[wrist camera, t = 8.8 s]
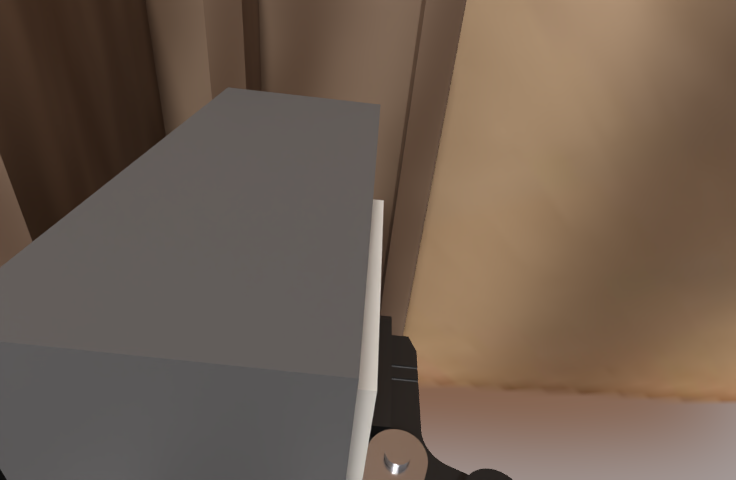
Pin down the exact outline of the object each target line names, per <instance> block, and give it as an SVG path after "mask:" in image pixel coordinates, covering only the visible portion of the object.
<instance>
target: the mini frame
mask: <svg viewBox="0 0 736 480" xmlns="http://www.w3.org/2000/svg"><path fill="white" fill-rule="evenodd" d="M379 118H380V104H371V103H362V102H354V101H345V100H336V99H327V98H318V97H309V96H300V95H291V94H282V93H273V92H264V91H255V90H246V89H238V88H229V87H228V88H226V89H225V90H224V91H223V92H221V93H220V94H219V95H218V96H216V97H215V98H214V99H213V100H211V101H210V102H209V103H207V104H206V105H205V106H204V107H202V108H201V109H200V110H199V111H197V112H196V113H195V114H194V115H192V116H191V117H190V118H188V119H187V120H186V121H185V122H183V123H182V124H181V125H180V126H178V127H177V128H176V129H175V130H173V131H172V132H171V133H170V134H168V135H167V136H166V137H164V138H163V139H162V140H161V141H159V142H158V143H157V144H156V145H154V146H153V147H152V148H151V149H149V150H148V151H147V152H145V153H144V154H143V155H142V156H140V157H139V158H138V159H137V160H135V161H134V162H133V163H132V164H130V165H129V166H128V167H127V168H125V169H124V170H123V171H121V172H120V173H119V174H118V175H116V176H115V177H114V178H113V179H111V180H110V181H109V182H108V183H106V184H105V185H104V186H102V187H101V188H100V189H99V190H97V191H96V192H95V193H94V194H92V195H91V196H90V197H89V198H87V199H86V200H85V201H84V202H82V203H81V204H80V205H78V206H77V207H76V208H75V209H73V210H72V211H71V212H70V213H68V214H67V215H66V216H65V217H63V218H62V219H61V220H59V221H58V222H57V223H56V224H54V225H53V226H52V227H51V228H49V229H48V230H47V231H46V232H44V233H43V234H42V235H40V236H39V237H38V238H37V239H35V240H34V241H33V242H32V243H30V244H29V245H28V246H27V247H25V248H24V249H23V250H22V251H20V252H19V253H18V254H16V255H15V256H14V257H13V258H11V259H10V260H9V261H8V262H6V263H5V264H4V265H3V266H1V267H0V469H1V471H2V473H3V474H4V476H5V478H6V479H7V480H362V479H363V473H364V467H365V461H366V455H367V449H368V443H369V437H370V431H371V425H372V419H373V413H374V407H375V401H376V395H377V379H378V351H379V322H380V293H381V264H382V236H383V207H384V200H374V199H373V194H374V181H375V168H376V156H377V143H378V130H379Z"/></svg>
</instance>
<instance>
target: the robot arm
mask: <svg viewBox="0 0 736 480" xmlns="http://www.w3.org/2000/svg"><path fill="white" fill-rule="evenodd" d="M420 423H421V422H420V406H419V389H418V372H417V355H416V350H415V348H414V346H413V345H412V343H411V341H410V339H409V337H405V336H396V335H392V317H391V316H382V315H380V322H379V351H378V379H377V395H376V401H375V407H374V413H373V419H372V425H371V431H370V437H369V443H368V449H367V455H366V461H365V467H364V473H363V479H362V480H512V479H511V478H510V477H508V476H507V475H505V474H503V473H502V472H499V471H496V470H492V469H479V470H477V471H475V472H472V473H471V474H470V475H467V474H465V473H463V472H460V471H459V470H456V469H454V468H452V467H449V466H447V465H445V464H444V463H442V462H440V461H439V460H438V459H436V458H435V457H434V456H433V455H432V454H431V453H430V451H429V450H428V449H427V447H426V446H425V443H424V441H423V438H422V435H421V424H420ZM0 480H7V479H6V478H5V476H4V474H3V473H2V471H1V469H0Z"/></svg>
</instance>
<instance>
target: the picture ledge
mask: <svg viewBox="0 0 736 480" xmlns="http://www.w3.org/2000/svg"><path fill="white" fill-rule="evenodd" d="M465 5H466V0H0V267H1V266H3V265H4V264H5V263H6V262H8V261H9V260H10V259H11V258H13V257H14V256H15V255H16V254H18V253H19V252H20V251H22V250H23V249H24V248H25V247H27V246H28V245H29V244H30V243H32V242H33V241H34V240H35V239H37V238H38V237H39V236H40V235H42V234H43V233H44V232H46V231H47V230H48V229H49V228H51V227H52V226H53V225H54V224H56V223H57V222H58V221H59V220H61V219H62V218H63V217H65V216H66V215H67V214H68V213H70V212H71V211H72V210H73V209H75V208H76V207H77V206H78V205H80V204H81V203H82V202H84V201H85V200H86V199H87V198H89V197H90V196H91V195H92V194H94V193H95V192H96V191H97V190H99V189H100V188H101V187H102V186H104V185H105V184H106V183H108V182H109V181H110V180H111V179H113V178H114V177H115V176H116V175H118V174H119V173H120V172H121V171H123V170H124V169H125V168H127V167H128V166H129V165H130V164H132V163H133V162H134V161H135V160H137V159H138V158H139V157H140V156H142V155H143V154H144V153H145V152H147V151H148V150H149V149H151V148H152V147H153V146H154V145H156V144H157V143H158V142H159V141H161V140H162V139H163V138H164V137H166V136H167V135H168V134H170V133H171V132H172V131H173V130H175V129H176V128H177V127H178V126H180V125H181V124H182V123H183V122H185V121H186V120H187V119H188V118H190V117H191V116H192V115H194V114H195V113H196V112H197V111H199V110H200V109H201V108H202V107H204V106H205V105H206V104H207V103H209V102H210V101H211V100H213V99H214V98H215V97H216V96H218V95H219V94H220V93H221V92H223V91H224V90H225V89H226V88H228V87H229V88H238V89H246V90H255V91H264V92H273V93H282V94H291V95H300V96H309V97H318V98H327V99H336V100H345V101H354V102H362V103H371V104H380V118H379V130H378V143H377V156H376V168H375V181H374V194H373V199H374V200H384V207H383V236H382V264H381V293H380V315H382V316H391V317H392V335H396V336H403V332H404V327H405V321H406V316H407V311H408V306H409V300H410V295H411V290H412V284H413V279H414V274H415V269H416V263H417V258H418V253H419V248H420V242H421V237H422V232H423V227H424V221H425V216H426V211H427V206H428V200H429V195H430V190H431V184H432V179H433V174H434V169H435V163H436V158H437V153H438V148H439V142H440V137H441V132H442V127H443V121H444V116H445V111H446V105H447V100H448V95H449V90H450V84H451V79H452V74H453V69H454V63H455V58H456V53H457V48H458V42H459V37H460V32H461V27H462V21H463V16H464V11H465Z"/></svg>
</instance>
